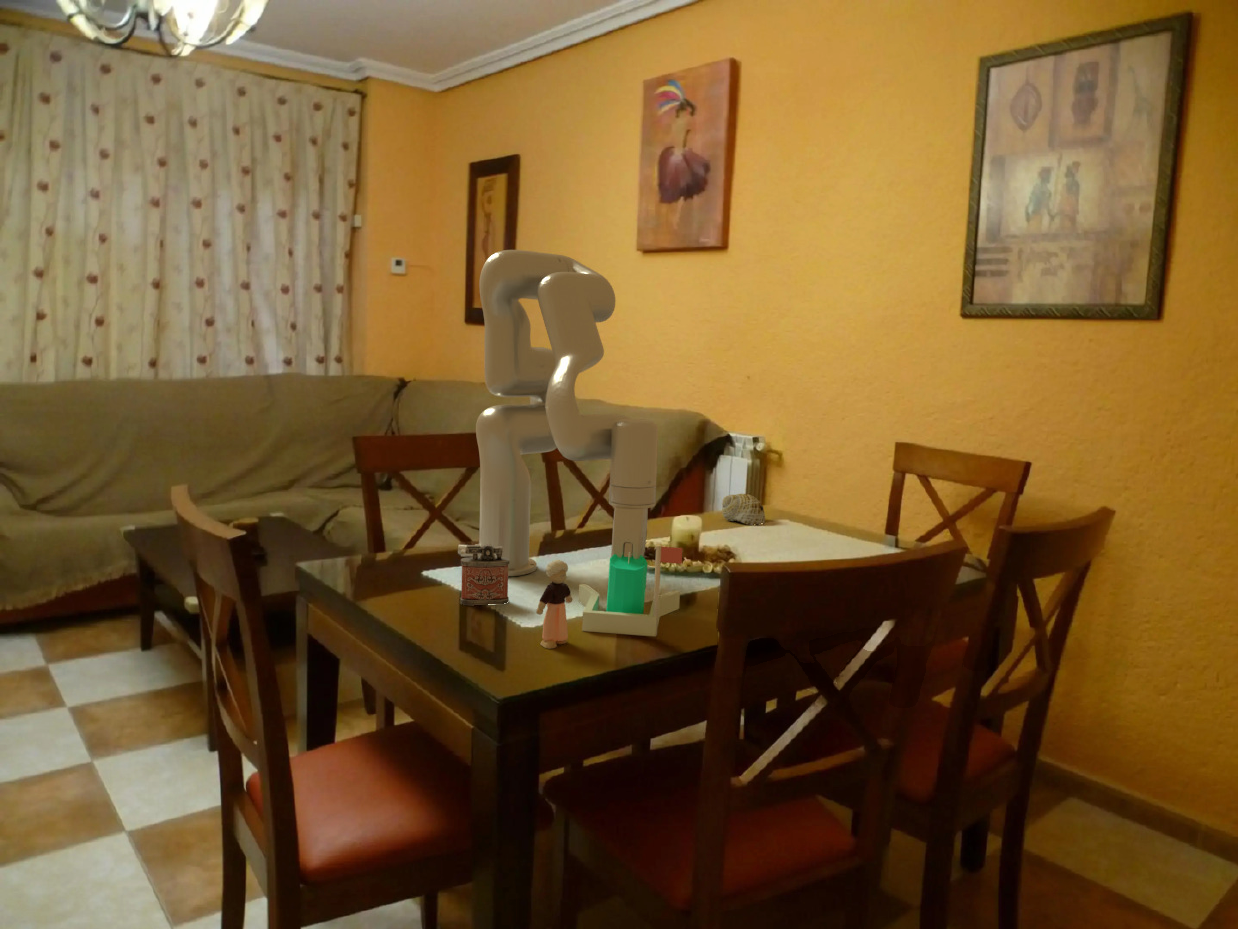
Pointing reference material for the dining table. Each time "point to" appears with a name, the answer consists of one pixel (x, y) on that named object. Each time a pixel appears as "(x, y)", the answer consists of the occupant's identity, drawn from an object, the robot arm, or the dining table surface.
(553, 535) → the dining table surface
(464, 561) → the lighter
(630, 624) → the white tray with post
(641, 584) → the candle
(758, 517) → the seashell
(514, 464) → the robot arm
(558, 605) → the grandmother figurine
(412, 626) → the dining table surface
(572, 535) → the dining table surface
